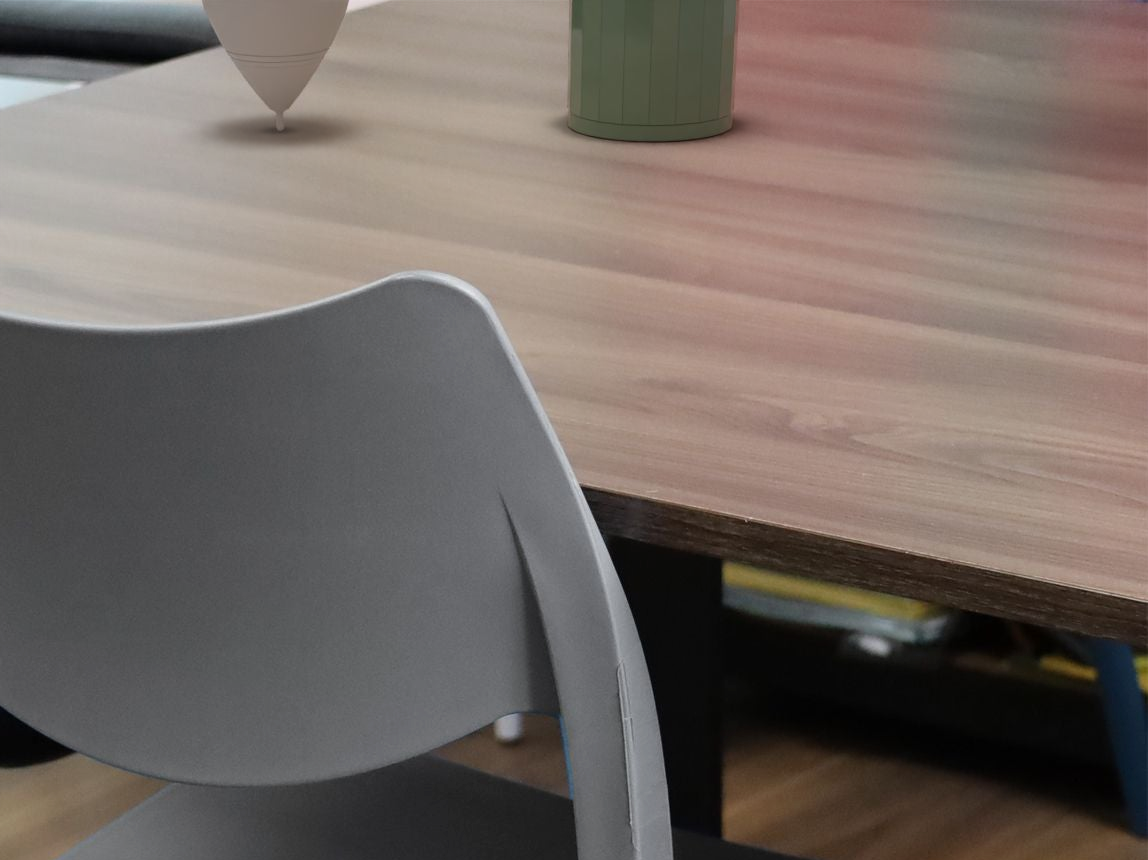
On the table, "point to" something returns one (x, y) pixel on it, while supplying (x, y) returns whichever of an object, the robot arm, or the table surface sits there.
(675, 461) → the table surface
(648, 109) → the green cylinder
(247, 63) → the spinning top
